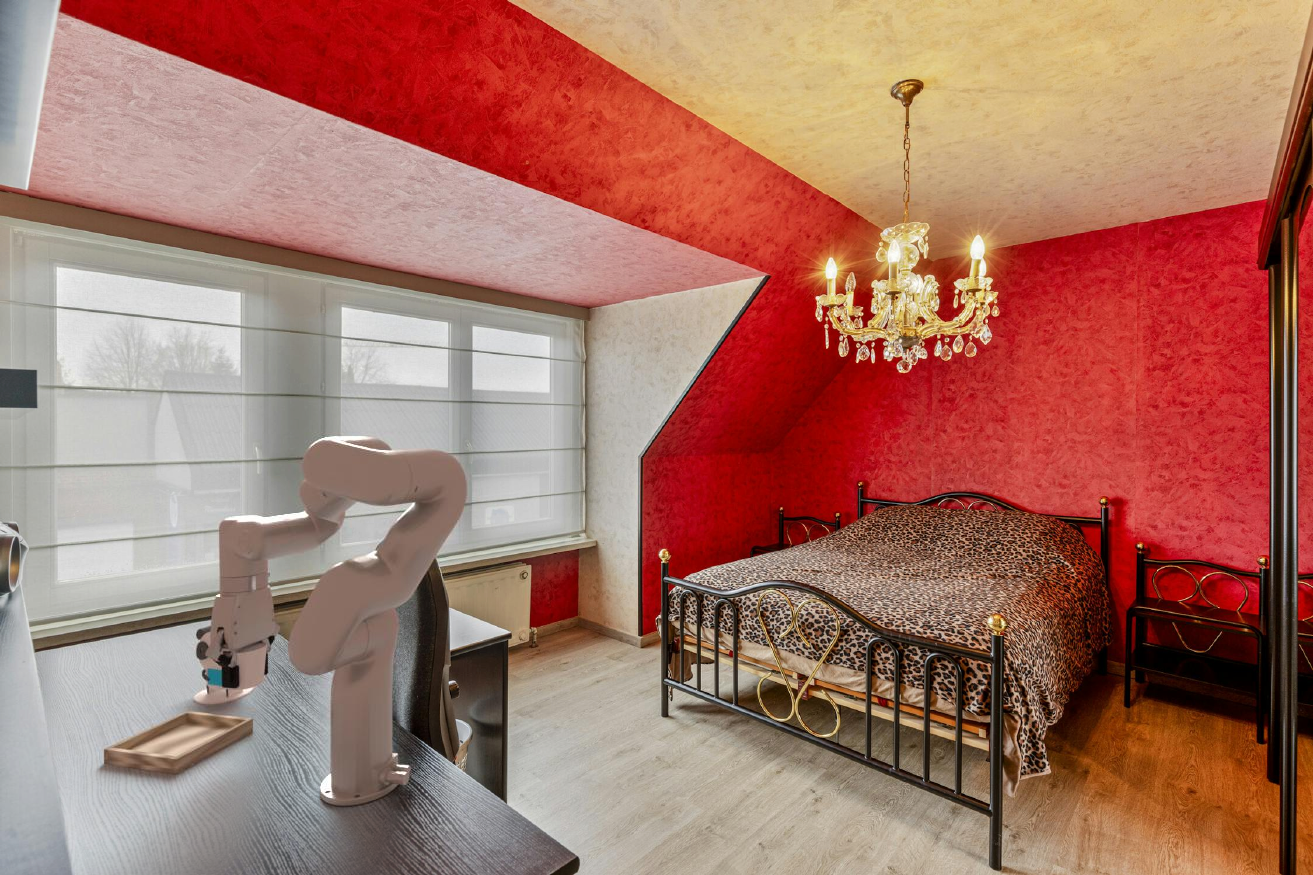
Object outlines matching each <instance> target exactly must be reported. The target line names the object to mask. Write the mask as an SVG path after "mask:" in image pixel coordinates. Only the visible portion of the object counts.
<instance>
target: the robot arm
mask: <svg viewBox="0 0 1313 875" xmlns="http://www.w3.org/2000/svg"><path fill="white" fill-rule="evenodd" d="M301 471H302V475H303V477H304V479H303V481H302V482H301V483H300V486H299V498H300V500H301V503H302V505H304V507H305V508H306V509H304V511H302V512H297V513H289V514H283V515H275V516H274V515H273V516H268V517H263V516H260V515H239V516H231V517H227V518H224V519H223V520H221V522H220V523H219V526H218V548H219V549H218V550H219V551H218V552H219V554H218V555H219V557H218V558H219V559H218V560H219V561H218V562H219V565H218V566H219V593H218V594H216V595H215V598H214V602H213V606H212V611H211V612H212V613H211V621H210V626H211V633H210V646H209V648H208V649H207V651H206V653H205V655H206V656H207V657H209V658H211V659H213V661H214V662H216V663H217V664H218V666H221V667H222V687H223V688H234V689H235V688H238V687H239V665H236V662H237V653H238V652H239V651H240V649H241V648H243V647H246V646H249V645H251V644H254V643H256V642H266V643H267V648H266V659H265V670H264V676H266V675H268V674H269V653H270V652H271V651H272V645H273V643H274V641H275V639H276V637H277V636H278V634H279V632H280V630H281V627H280V625H279V624H278V623H277V621H276V622H275V610H274V609H275V608H274V600H273V595H272V590H271V587H270V586H271V585H269V578H270V577H271V574H270V572H269V560H274V559H279V558H282V557H287V556H293V555H298V554H304V553H306V552H310V551H312V550H315V549H317V548H318V547H319V546H321V545H323V544H324V543H325V542H327V541H328V540H329V539H330V538H332V537H333V536H334V535H335V534H337V533H338V532H339V530H340V529H341V527H342V526H343V523H344V521H345V518H346V511H348V510H349V509H350V508H351V507H352V506H354V505H355V504H356V503H357V502H358V503H361V504H365V505H369V506H373V507H375V506H376V507H388V506H389V507H392V506H396V505H404V504H411V503H412V504H411V505H410V506H409V508H407V510H405V511H404V512H403V513H402V514H401V515H400V516H398V518H397V519H396V520H395V522H394V523H393V524H392V525H391V526H390V528H389V530H388V531H387V534H386V535H385V537H384V539H383V540H382V542H381V543H380V544H379V546H378V547H377V548H376V549H375V550H374V551H372V552H370V553H368V554H366V555H362V556H358V557H354V558H349V559H345V560H343V561H339V563H336V564H334V565H333V566H331V567H330V568H329V569H328V570H327V571H326V572H324V573H323V575H322V576H321V577H320V578H319V580H318V581H317V583H316V585H315V586H314V589H313V590H312V592H311V593H310V595H309V597H308V599H307V601H306V602H305V604H304V605H303V608H302V609H301V611H300V613H299V615H298V617H297V618H296V620H295V622H294V625H292V628H291V631H290V634H289V636H288V637H289V638H288V642H287V643H288V644H287V652H288V657H289V661H290V663H291V665H292V667H293V668H295V669H296V671H298V672H299V673H301V674H304V675H308V676H322V675H325V674H327V673H331V672H333V671H334V672H333V674H332V675H333V676H332V679H331V684H330V774H328V776H326V777H325V778H324V779H323V780H322V782H321V783H320V787H319V796H320V798H321V800H323V801H324V802H325V803H327V804H330V805H332V806H341V807H346V806H347V807H348V806H357V805H361V804H362V805H363V804H367V803H369V802H372V801H375V800H377V799H380V798H382V797H384V796H386V795H388V794H390V793H391V792H392V791H393V790H395V788H396V787H398V785H401V786H406V785H407V784H408V783H409V780H410V773H411V769H412V766H411V765H409V764H400V762H399V753H398V752H397V753H396V752H393V689H394V688H393V684H394V682H393V681H394V680H393V679H394V678H393V676H394V675H393V674H394V672H393V671H394V670H393V669H394V658H395V653H396V652H395V651H396V646H397V642H398V641H397V640H398V636H399V629H400V620H399V615H398V613H397V610H396V608H397V607H400V606H402V605H403V604H405V603H407V601H409V600H410V598H411V597H412V596H413V595H414V593H415V591H416V590H417V588H418V586H419V584H420V583H421V582H422V580H423V578H424V576H425V575H426V574H427V572H428V571H429V568H430V567H431V565H432V564H433V563H434V560H435V558H436V557H437V554H438V553H439V551H440V549H441V548H442V546H443V545H444V543H445V542H446V540H447V539H448V537H449V536H450V535H451V533H452V532H453V530H454V528H455V527H456V525H457V524H458V522H459V520H460V518H461V516H462V514H463V512H464V509H465V506H466V503H467V502H466V501H467V498H468V497H467V496H468V487H467V486H468V483H467V479H466V478H467V477H466V474H465V471H464V468H463V466H462V465H461V463H460V462H459V460H458V459H457V458H456V457H455V456H453V455H452V454H449V453H448V452H445V451H442V450H438V449H431V448H430V449H429V448H428V449H427V448H415V449H414V448H413V449H392V448H391V446H390V445H389V444H387V443H386V442H385V441H383V440H382V439H379V438H375V437H371V436H328V437H324V438H321V439H318V440H316V441H315V442H313V443H312V444H311V445H310V446H309V447H308V448H307V449H306V451H305V453H304V456H303V458H302V463H301ZM221 648H222V650H221V653H220V649H221ZM227 652H231V655H230V658H229V657H227V656H226V653H227Z"/></svg>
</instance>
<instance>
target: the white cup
mask: <svg viewBox="0 0 1313 875" xmlns="http://www.w3.org/2000/svg"><path fill="white" fill-rule="evenodd" d="M266 648H267V643H266V642H256V643H254V644H251V645H249V646H246V647H243V648H241V649H240V651H239V652H238V653H237V662H236V665H239V687H238V688H235V689H234V688H228V689H229V690H243V689H248V688H252V687H254V688H255V687H259V685H261V684H263V682H264V681H265V679H264V678H265V675H264V670H265V659H266ZM230 655H231V652H227V653H226V656H227V657H229V658H230Z"/></svg>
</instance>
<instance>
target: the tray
mask: <svg viewBox="0 0 1313 875" xmlns="http://www.w3.org/2000/svg"><path fill="white" fill-rule="evenodd" d="M252 732H254V718H250V717H249V718H248V717H242V716H234V715H225V714H215V713H208V712H200V711H189V710H187V711H184V712H181V713H180V714H178V715H177V714H176V715H175V716H173V717H171V718H169V719H166V720H164V721H162V722H160V723H158V724H156V725H154V726H151V727H150V728H147V729H145V730H143V731H141V732H138V733H137V734H134V735H131V736H130V737H128V738H126V739H124V740H121V741H119V742H116V743H115V744H112V745H111V746H108V747H106V748H104V749H103V764H104V765H105V764H106V765H112V766H116V767H117V766H118V767H124V768H125V767H126V768H132V769H139V770H146V771H153V772H158V773H159V772H160V773H166V774H173V775H178V774H179V773H181V772H183V771H185V770H186V769H188V768H190V767H192V766H193V765H192V764H194V763H195V764H197V763H199V762H201V761H202V760H205V759H206V758H208V757H209V756H212V755H213V754H215V753H217V752H219V751H221V750H222V749H224V748H226V747H228V746H231V744H233V743H235V742H237V741H239V740H240V739H243V738H245V737H247V736H248V735H250V734H251V733H252ZM198 761H199V762H198ZM195 764H194V765H195ZM191 765H192V766H191ZM189 766H190V767H189ZM187 767H188V768H187ZM184 769H185V770H184ZM182 770H183V771H182Z"/></svg>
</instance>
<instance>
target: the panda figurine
mask: <svg viewBox="0 0 1313 875" xmlns="http://www.w3.org/2000/svg"><path fill="white" fill-rule="evenodd" d="M210 633H211V625H208V626H206V627H205V626H204V627H202V628H198V629H197V631H196V633H195V636H196V639H197V640H199V642H198V643H197V644H196V647H195V648H196V649H195V656H196V659H198V660H199V663H200V664H201V666H202V668H203V669H202V671H201V676H202V679H203V680H204V681H205V683H206V688H205V689H202V690H201V691H199V692H197V693H196V694H195V695H194V697H193V701H194V702H195V704H198V705H199V704H200V705H216V704H223V703H227V702H228V703H229V702H231V701H235V700H238V699H242V698H243V697H246V696H249V694H252V692H253V691H254V689H255V687H252V688H248V689H243V690H229V689H228V688H223V687H222V667H221V666H218V664H217V663H216V662H214V661H213V659H211V658H209V657H207V656H206V655H205V653H206V651H207V649H208V648H209V646H210ZM221 650H222V648H221V649H220V653H221Z"/></svg>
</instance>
